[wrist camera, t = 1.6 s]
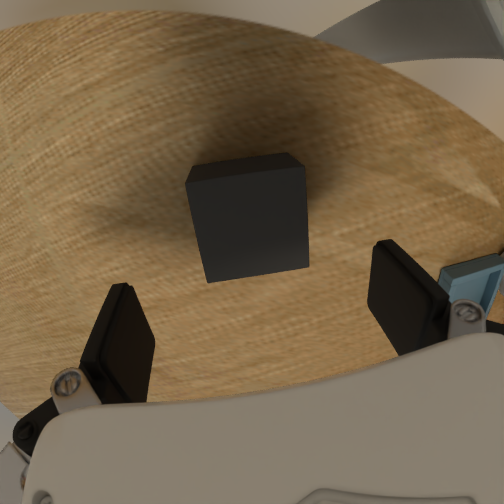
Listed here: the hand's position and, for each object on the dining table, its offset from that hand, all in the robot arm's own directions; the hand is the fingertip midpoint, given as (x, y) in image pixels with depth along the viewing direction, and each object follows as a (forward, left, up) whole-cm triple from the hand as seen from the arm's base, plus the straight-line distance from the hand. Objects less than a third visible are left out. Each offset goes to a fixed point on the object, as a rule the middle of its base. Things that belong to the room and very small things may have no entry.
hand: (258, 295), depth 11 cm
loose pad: (0, 0, -9) cm, 9 cm away
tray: (+16, +22, -9) cm, 29 cm away
